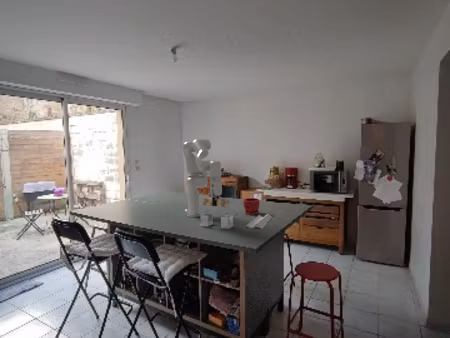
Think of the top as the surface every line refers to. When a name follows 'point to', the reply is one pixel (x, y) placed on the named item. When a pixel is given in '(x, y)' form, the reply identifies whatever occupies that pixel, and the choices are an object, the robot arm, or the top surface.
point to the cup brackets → (207, 220)
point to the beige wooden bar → (220, 202)
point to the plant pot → (251, 206)
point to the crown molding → (259, 221)
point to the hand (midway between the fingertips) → (216, 204)
